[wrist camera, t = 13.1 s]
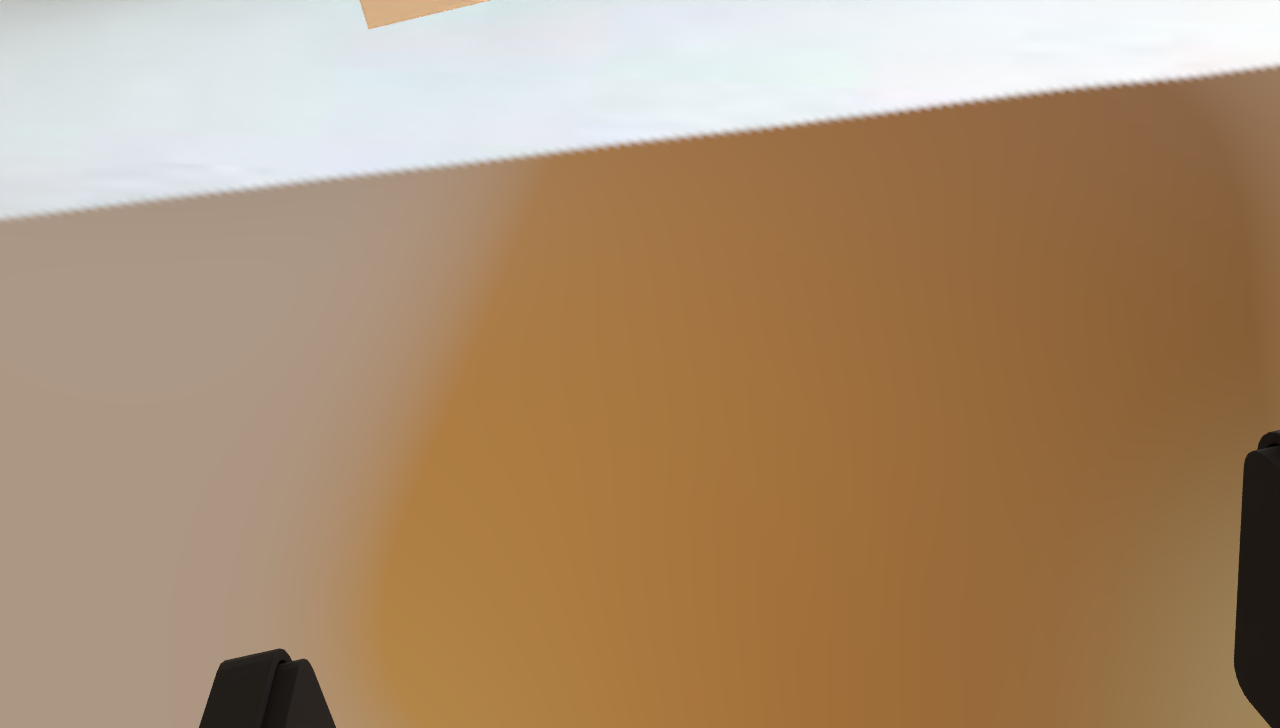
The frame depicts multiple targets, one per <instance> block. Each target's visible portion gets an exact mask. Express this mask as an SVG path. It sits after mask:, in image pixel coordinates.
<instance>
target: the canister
mask: <svg viewBox="0 0 1280 728" xmlns="http://www.w3.org/2000/svg"><path fill="white" fill-rule="evenodd" d="M485 1H489V0H360V3H361V6H362V10H363V13H364V16H365V19H366V23H367V26H368V29H371V28H376V27H380V26H384V25H388V24H393V23H397V22H401V21H405V20H409V19H414V18H418V17H422V16H426V15H430V14H435V13H439V12H443V11H447V10H452V9H456V8H460V7H464V6H468V5H473V4H477V3H481V2H485Z"/></svg>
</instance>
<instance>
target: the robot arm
mask: <svg viewBox="0 0 1280 728" xmlns="http://www.w3.org/2000/svg"><path fill="white" fill-rule="evenodd" d="M1242 495H1243V496H1242V513H1241V532H1240V553H1239V572H1238V591H1237V610H1236V630H1235V650H1234V667H1235V672H1236V677H1237V679H1238V682H1239V685H1240V687H1241V689H1242V691H1243V693H1244V695H1245V696H1246V697H1247V699H1248V700H1249V702H1250V703H1251V704H1252V705H1253V706H1254V708H1255V709H1256V710H1257V711H1258V712H1259V713H1260V715H1261V716H1262V717H1263V718H1264V719H1265V721H1266V722H1267V723H1268V724H1269V725H1270V727H1272V728H1280V430H1278V431H1273V432H1269V433H1267V434H1265V435H1264V436H1263V437H1262V438H1261V440H1260V442H1259V444H1258V450H1255V451H1252V452H1250V453H1248V455H1247V457H1246V459H1245V463H1244V475H1243V493H1242ZM199 728H336V726H335V724H334V721H333V719H332V716H331V714H330V711H329V709H328V706H327V703H326V701H325V698H324V696H323V693H322V691H321V688H320V686H319V683H318V680H317V678H316V675H315V673H314V670H313V668H312V666H311V664H310V663H309V662H308V660H306V659H301V660H296V661H292V660H291V658H290V656H289V655H288V654H287V652H286V651H285V650H283V649H275V650H271V651H266V652H262V653H257V654H253V655H248V656H243V657H239V658H235V659H230V660H225V661H224V662H222V663H221V664H220V666H219V669H218V671H217V673H216V677H215V680H214V683H213V686H212V689H211V692H210V695H209V698H208V701H207V704H206V708H205V711H204V714H203V717H202V720H201V723H200V726H199Z"/></svg>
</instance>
